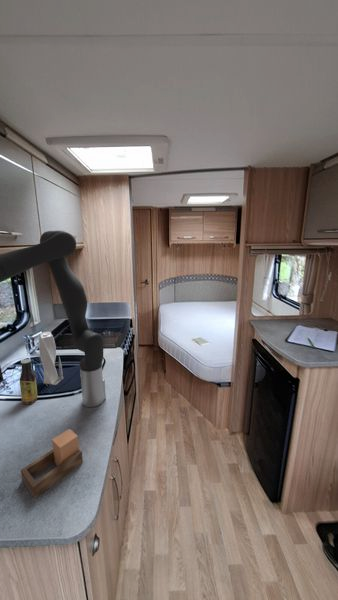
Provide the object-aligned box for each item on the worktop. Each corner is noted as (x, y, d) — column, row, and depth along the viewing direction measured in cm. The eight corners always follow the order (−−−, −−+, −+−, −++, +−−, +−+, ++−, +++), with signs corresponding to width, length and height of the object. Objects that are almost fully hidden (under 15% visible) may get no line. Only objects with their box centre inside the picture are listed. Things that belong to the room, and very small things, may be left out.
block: (71, 450, 85) (69, 428, 83) (79, 458, 82) (77, 436, 80) (54, 462, 80) (52, 439, 78) (62, 471, 77) (60, 447, 75)
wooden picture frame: (69, 448, 86) (68, 439, 85) (82, 461, 81) (81, 451, 80) (22, 480, 74) (20, 470, 74) (35, 498, 69) (33, 487, 68)
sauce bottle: (18, 404, 109) (12, 363, 104) (29, 395, 115) (23, 356, 110) (31, 406, 108) (26, 365, 103) (41, 397, 114) (36, 358, 109)
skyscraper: (54, 387, 122) (48, 334, 115) (39, 385, 123) (32, 333, 117) (64, 378, 130) (59, 328, 123) (50, 376, 131) (44, 327, 125)
